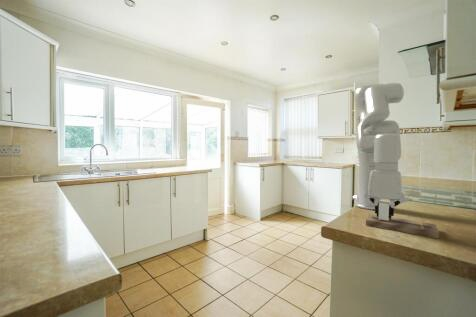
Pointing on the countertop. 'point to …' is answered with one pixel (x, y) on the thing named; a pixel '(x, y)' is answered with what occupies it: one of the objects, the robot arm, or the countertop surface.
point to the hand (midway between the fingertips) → (384, 216)
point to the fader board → (404, 226)
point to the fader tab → (384, 210)
